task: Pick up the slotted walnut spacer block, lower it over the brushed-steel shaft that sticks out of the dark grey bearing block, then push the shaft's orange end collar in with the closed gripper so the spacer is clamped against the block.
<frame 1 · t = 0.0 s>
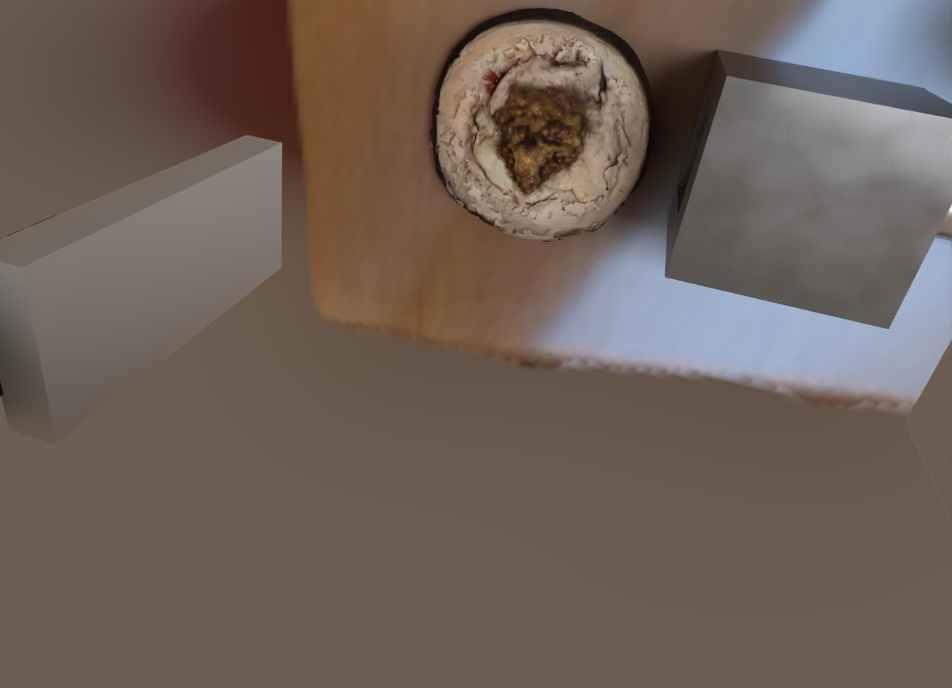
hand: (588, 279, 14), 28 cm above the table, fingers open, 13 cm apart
bearing block: (785, 157, 38), on the table
cream tart: (541, 126, 41), on the table
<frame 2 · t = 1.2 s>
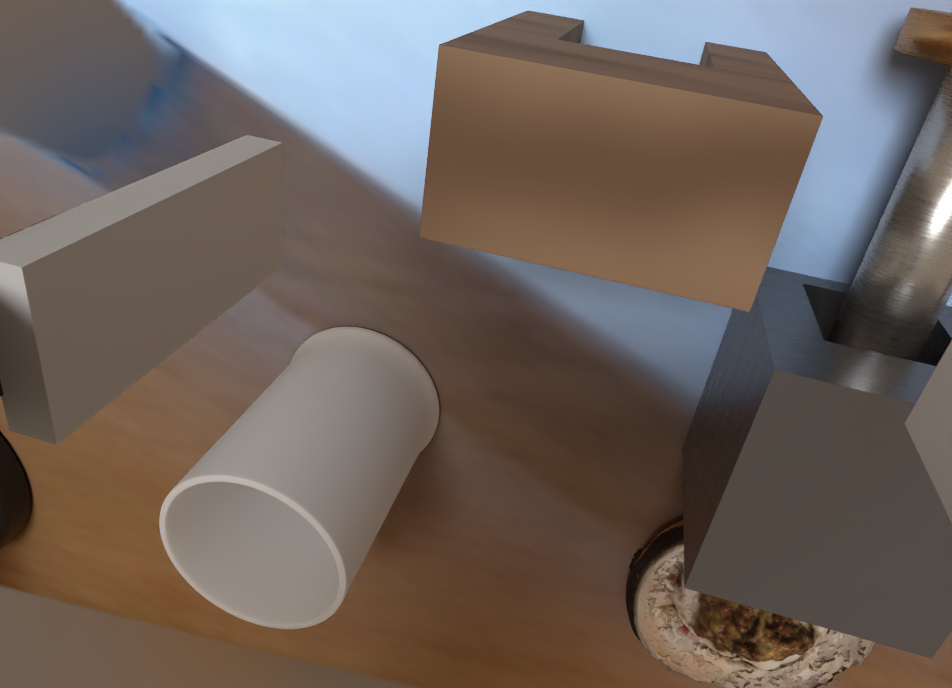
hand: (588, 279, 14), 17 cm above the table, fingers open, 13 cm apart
spacer: (627, 99, 28), on the table
mug: (364, 418, 39), on the table
shaft: (919, 247, 25), point 4 cm above the table, slide at 6.5 cm
bearing block: (815, 387, 32), on the table
cream tart: (744, 584, 39), on the table
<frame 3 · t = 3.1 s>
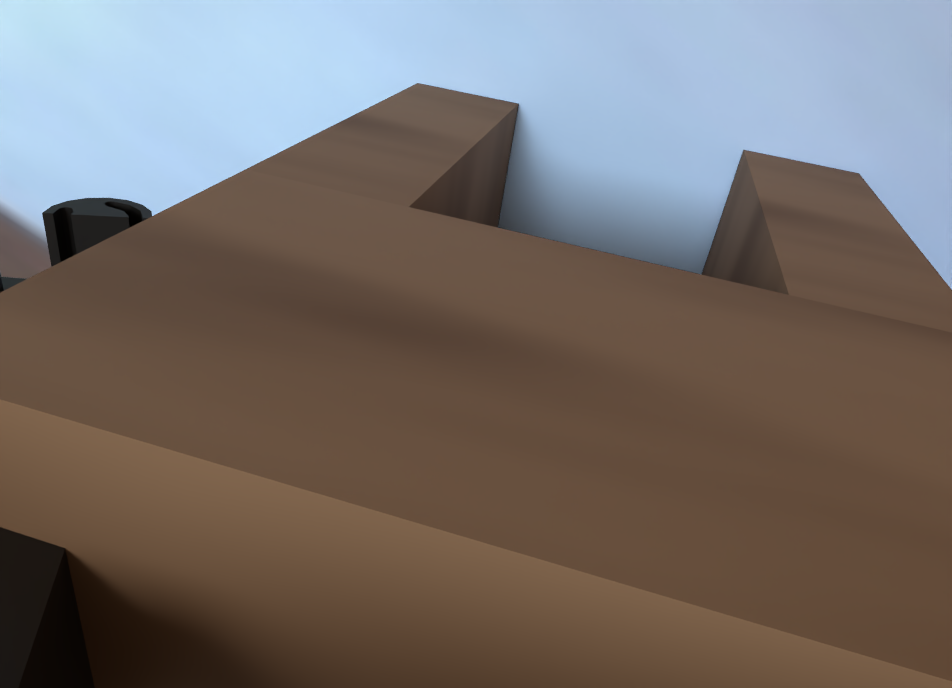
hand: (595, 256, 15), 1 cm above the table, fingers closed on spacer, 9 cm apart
spacer: (600, 240, 16), on the table, touching gripper
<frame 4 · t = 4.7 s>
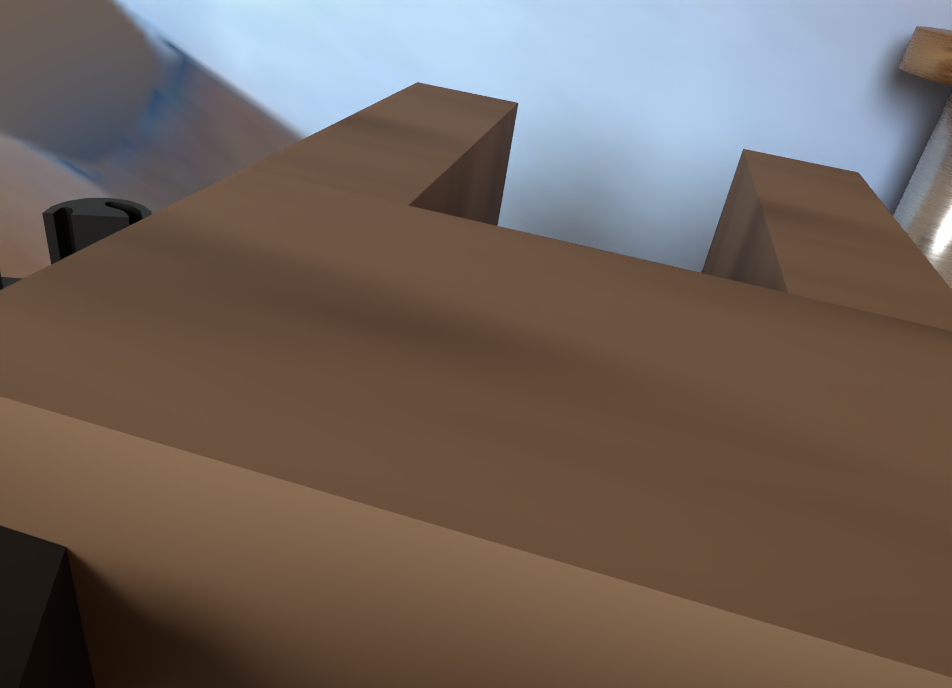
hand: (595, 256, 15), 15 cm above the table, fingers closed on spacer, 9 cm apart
spacer: (599, 239, 16), point 14 cm above the table, touching gripper
shaft: (922, 266, 25), point 4 cm above the table, slide at 6.5 cm
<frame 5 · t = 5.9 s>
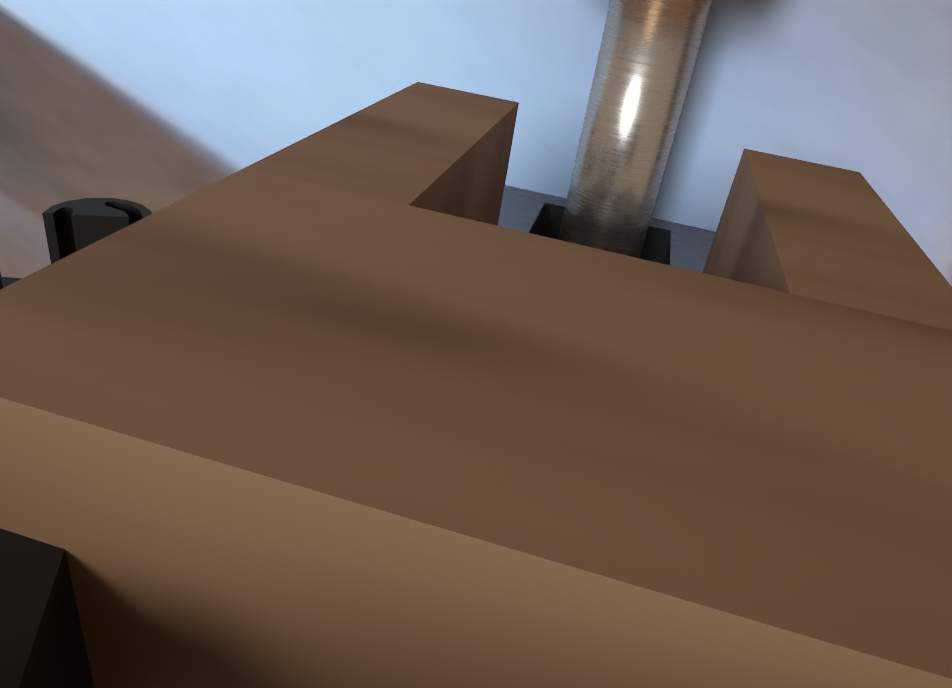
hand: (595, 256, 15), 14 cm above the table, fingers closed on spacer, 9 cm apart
spacer: (600, 239, 16), point 13 cm above the table, touching gripper
shaft: (622, 153, 24), point 4 cm above the table, slide at 6.5 cm
bearing block: (581, 316, 31), on the table
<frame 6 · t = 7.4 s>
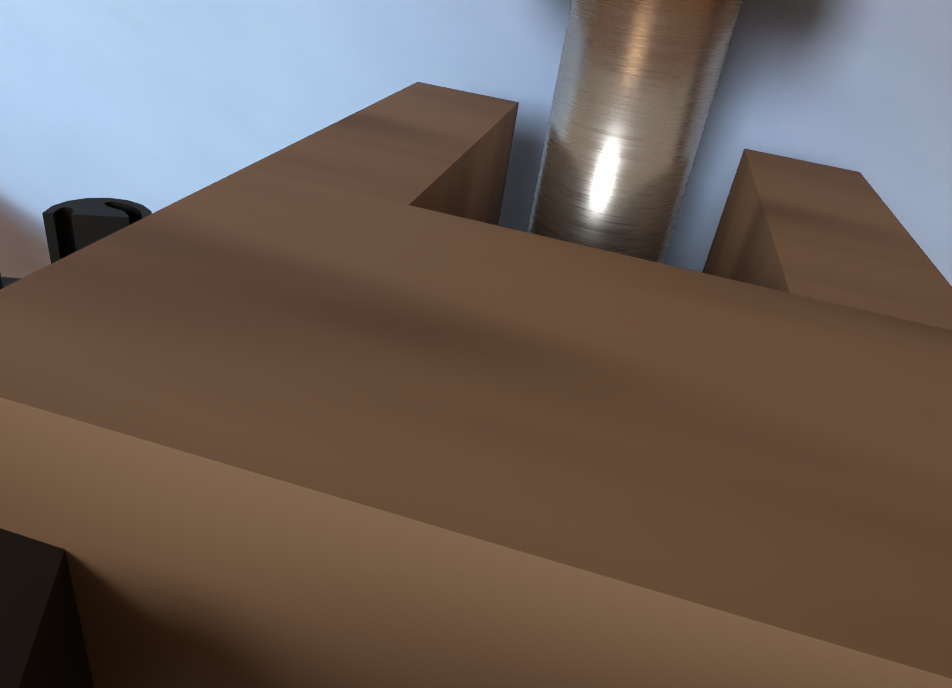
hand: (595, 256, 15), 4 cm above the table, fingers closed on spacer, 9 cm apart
spacer: (600, 239, 16), point 3 cm above the table, touching gripper
shaft: (590, 260, 16), point 3 cm above the table, slide at 6.5 cm
when the fingers open (2 cm above the table, at t = 8.3 s): spacer drops 1 cm, on the table.
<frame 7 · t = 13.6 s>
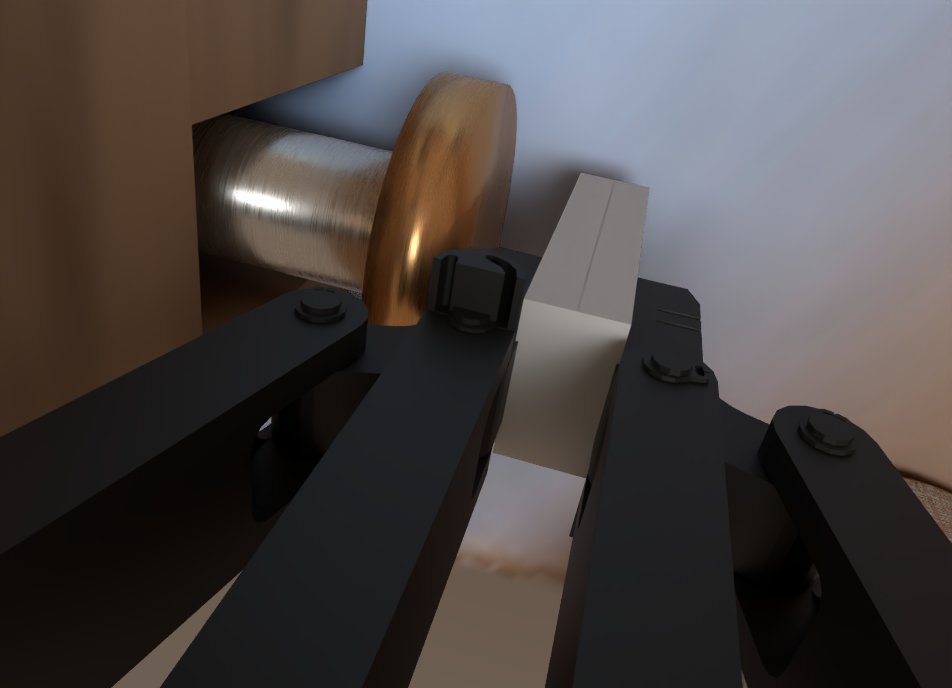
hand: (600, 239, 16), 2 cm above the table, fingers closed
spacer: (266, 138, 19), on the table
planter: (822, 597, 21), on the table
shaft: (165, 172, 16), point 4 cm above the table, slide at 6.4 cm, touching gripper
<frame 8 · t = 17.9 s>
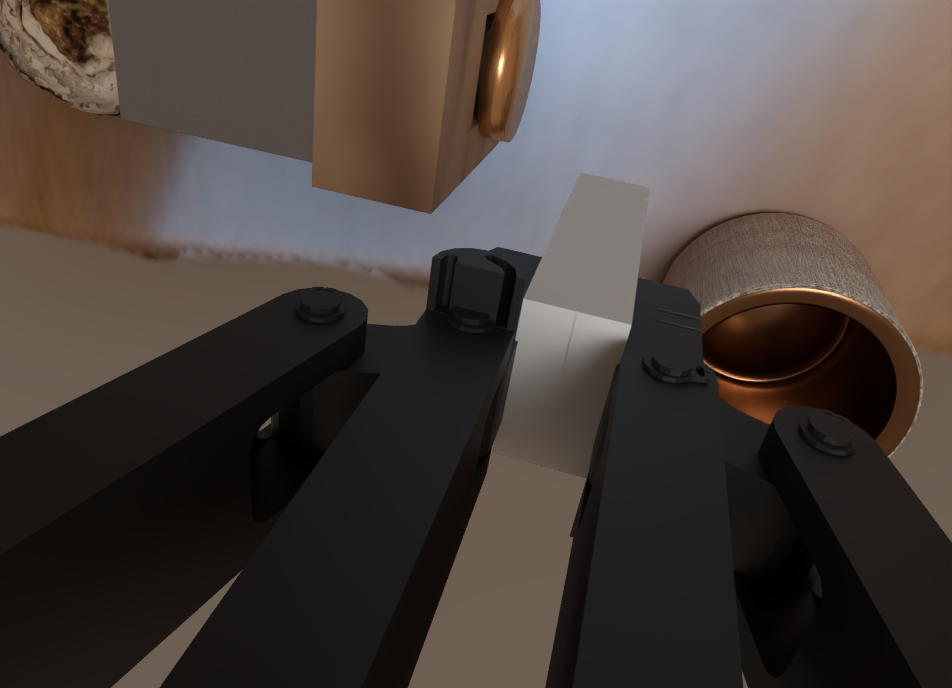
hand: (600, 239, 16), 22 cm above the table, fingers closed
spacer: (464, 45, 36), on the table
planter: (760, 303, 39), on the table
shaft: (376, 41, 34), point 4 cm above the table, slide at 3.4 cm
bearing block: (311, 16, 37), on the table
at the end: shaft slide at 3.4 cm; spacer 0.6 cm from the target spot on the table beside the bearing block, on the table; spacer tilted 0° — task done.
